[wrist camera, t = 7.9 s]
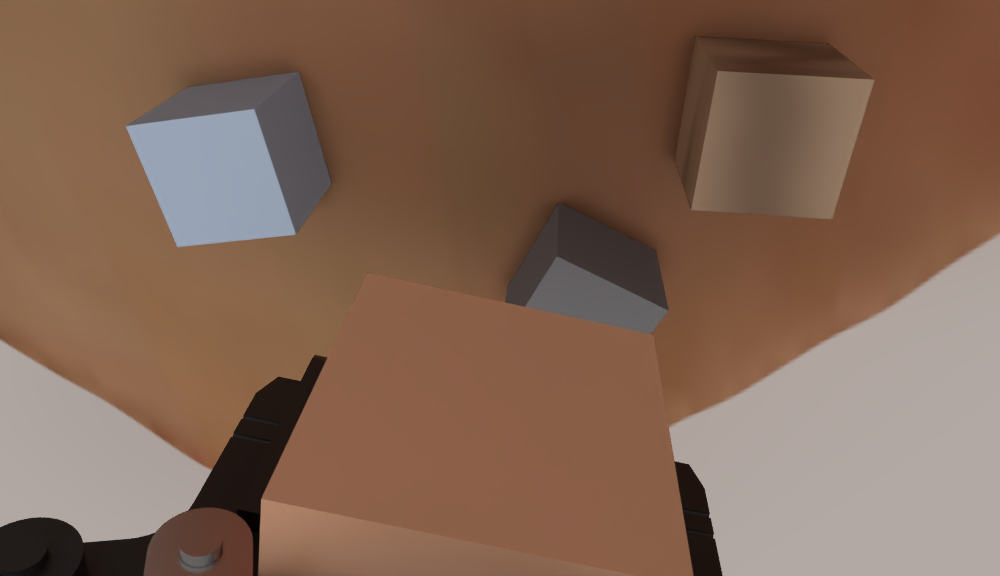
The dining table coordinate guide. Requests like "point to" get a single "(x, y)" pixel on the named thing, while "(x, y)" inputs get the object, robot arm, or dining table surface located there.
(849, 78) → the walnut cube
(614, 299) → the charcoal cube
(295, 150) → the slate blue cube
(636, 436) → the terracotta cube
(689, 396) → the dining table surface
